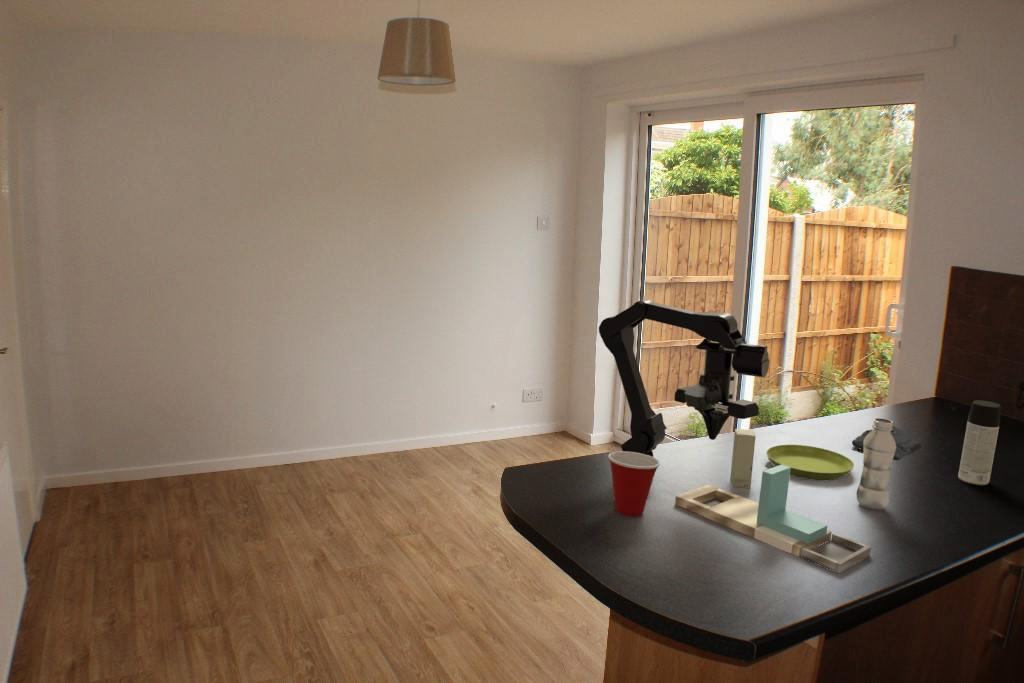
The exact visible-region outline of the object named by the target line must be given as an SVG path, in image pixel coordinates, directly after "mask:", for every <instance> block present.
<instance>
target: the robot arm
mask: <svg viewBox="0 0 1024 683" xmlns="http://www.w3.org/2000/svg"><path fill="white" fill-rule="evenodd" d="M645 320H648V321H652V322H653V321H654V322H658V323H661V324H664V325H669V326H674V327H678V328H681V329H685V330H689V331H692V332H693V333H695V334H697V335H698V336H700V337H702V338H704V339H703V340H702V341H701V342H700V343H699V344H697V345H696V346H695V348H696V350H704V351H705V353H704V354H705V356H704V369H703V374H700V375H699V378H698V383H696V384H694V385H692V386H691V385H689V386H685V387H680V388H677V389H676V390H675V392H674V396H673V397H674V402H678V403H681V404H686V406H687V407H689V408H694V410H695V411H697V412H698V413H699V414H700V415H701V416H702V419H703V422H704V424H705V428H706V431H707V434H708V439H709V440H712V441H713V440H716V439H717V437H718V435H719V433H720V431H721V430H722V428H723V426H724V425H725V423H726V422H727V420H728V419H729V417H733V418H736V419H739V420H746V419H749V418H753V417H757V416H758V417H759V412H760V406H759V405H758V404H757V402H756V401H755V402H754V401H751V400H747V399H738V400H734V401H731V400H733V397H734V394H733V393H730V392H731V389H730V388H731V382H732V381H735V375H732V369H733V371H735V372H736V374H738V375H743V376H750V377H757V378H763V379H764V378H766V377H767V375H768V372H769V369H770V368H769V367H770V356H769V352H768V345H765V344H751V343H750V344H749V343H747V341H746V340H745V338H744V336H743V335H742V333H741V331H740V330H739V328H738V326H739V325H738V321H737V319H736V318H735V316H733V314H731V313H728V312H699V311H698V312H697V311H693V310H687V309H683V308H679V307H675V306H671V305H667V304H661V303H657V302H655V301H654V302H653V301H651V300H649V299H642V300H638V301H635V302H634V303H633V304H632V305H630V306H629V307H627V308H626V309H624V310H623V311H621V312H619V313H618V314H616V315H613V316H609V317H606V318H604V319H603V320H602V321H601V322H600V324H599V326H598V332H599V335H600V338H601V340H602V342H603V344H604V346H605V347H606V348H607V350H608V351H609V352H610V353H611V354H612V356H613V358H614V361H615V365H616V368H617V371H618V374H619V377H620V381H621V384H622V387H623V391H624V394H625V397H626V400H627V404H628V407H629V410H630V414H631V415H630V424H629V425H630V426H629V428H630V438H629V439H627V440H626V441H625V442H623V443H622V444H621V451H624V452H635V453H641V454H645V455H649V456H651V457H654V452H653V451H654V450H656V449H657V446H658V445H660V444H661V443H662V442H663V441H664V439H665V438H666V430H667V428H668V427H667V426H666V425H665V423H664V422H665V421H664V417H663V416H664V415H663V414H662V412H659V413H656V412H655V411H654V410H653V409H652V407H651V405H650V402H649V398H648V396H647V392H646V391H647V390H646V389H645V385H644V382H643V378H642V375H641V372H640V368H639V364H638V361H637V358H636V356H635V353H634V346H635V345H634V343H635V342H634V341H635V333H634V328H636V327H637V326H639V325H640V324H641V323H643V322H644V321H645Z"/></svg>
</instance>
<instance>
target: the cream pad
mask: <svg viewBox="0 0 1024 683" xmlns="http://www.w3.org/2000/svg"><path fill="white" fill-rule="evenodd" d="M753 539H755V540H758V541H760V542H762V543H765V544H768V545H769V546H772V547H775V548H777V549H779V550H782V551H784V552H786V553H789V554H791V553H792V545H793V544H794V543H796V542H798V541H799V540H796V539H794V538H792V537H789V536H787V535H784V534H782V533H779V532H777V531H775V530H772V529H770V528H767V527H765V526H760V527H758V528H756V529H755V535H754V538H753Z"/></svg>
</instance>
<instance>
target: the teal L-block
mask: <svg viewBox="0 0 1024 683" xmlns="http://www.w3.org/2000/svg"><path fill="white" fill-rule="evenodd" d="M790 470H791V467H788V466H785V465H779V466H776V467H775V466H774V467H770V468H768V469H764V470H762V473H761V474H762V475H761V483H760V491H759V498H758V503H759V506H758V514H757V522H756V523H758V524H760V525H762V526H765V527H767V528H770V529H772V530H775V531H777V532H779V533H782V534H784V535H787V536H789V537H792V538H794V539H796V540H799V541H801V542H804V543H806V544H809V543H811V542H813V541H815V540H817V539H819V538H821V537H823V536H825V535H826V533H827V530H828V525H827V524H825V523H823V522H820V521H817V520H815V519H812V518H811V517H806V516H805V515H801V514H799V513H796V512H794V511H791V510H788V509H786V508H787V499H788V491H789V484H790V477H791V475H790Z"/></svg>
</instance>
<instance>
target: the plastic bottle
mask: <svg viewBox="0 0 1024 683" xmlns="http://www.w3.org/2000/svg"><path fill="white" fill-rule="evenodd" d="M892 425H893V420H890V419H886V418H880V417H876V418H874V420H873V424H872V428H873V429H871V430H872V431H871V432H870V433H869V434H868V435H867V436H866V437H865V439H864V443H863V445H864V446H863V448H864V450H863V462H862V463H863V466H862V472H861V476H860V480H859V484H858V486H857V490H856V501H857V503H858V504H859V505H861V506H862V507H865V508H867V509H871V510H876V511H877V510H880V511H881V510H884V509H886V508H887V507H888V505H889V503H890V502H889V501H890V488H889V487H890V473H891V468H892V464H893V460H894V459H893V457H894V454H895V451H896V442H895V440H894V438H893V436H892V435H891V433H890V431H892ZM893 426H894V425H893Z"/></svg>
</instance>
